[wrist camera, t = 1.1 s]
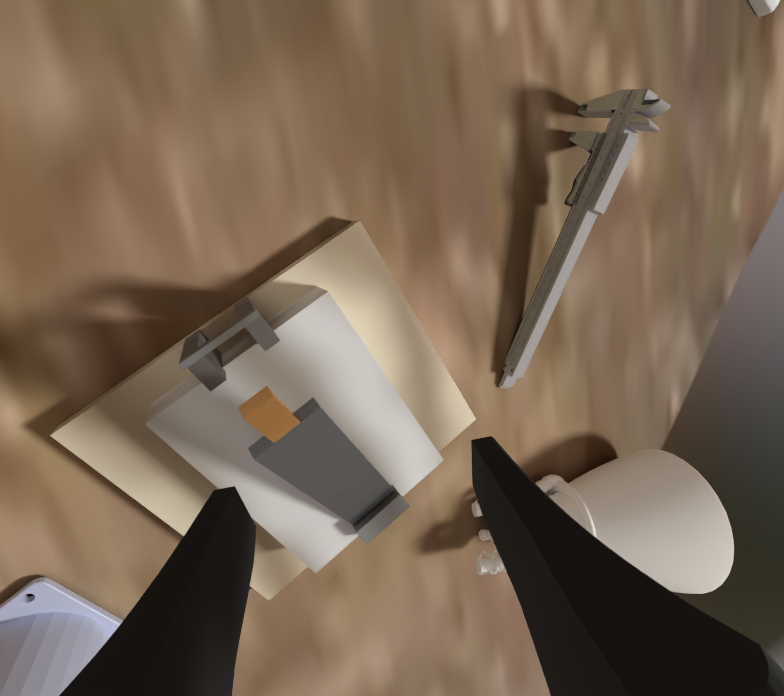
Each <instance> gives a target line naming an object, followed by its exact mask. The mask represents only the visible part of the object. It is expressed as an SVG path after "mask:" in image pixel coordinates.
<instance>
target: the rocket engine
mask: <svg viewBox="0 0 784 696" xmlns="http://www.w3.org/2000/svg"><path fill="white" fill-rule="evenodd" d="M535 484H536V485H538V486H539V487H540V488H541V489H542V490H543V491H544V492H545V493H546V494H547V495H548V496H549V497H550V498H551V499H552V500H553V501H554V502H555V503H556V504H557V505H558V506H560V507H561V508H562V509H563V510H564V511H565V512H566V513H567V514H568V515H570V516H571V517H572V518H573V519H574V520H575V521H577V522H578V523H579V524H580V525H581V526H582V527H584V528H585V529H586V530H587V531H588V532H590V533H591V534H592V535H593V536H595V537H596V538H597V539H598V540H600V541H601V542H602V543H603V544H605V545H606V546H607V547H609V548H610V549H611V550H613V551H614V552H615V553H617V554H618V555H619V556H621V557H622V558H623V559H625V560H626V561H627V562H629V563H630V564H632V565H633V566H635V567H636V568H638V569H639V570H640V571H642V572H643V573H645V574H646V575H648V576H649V577H651V578H652V579H654V580H655V581H657V582H658V583H659V584H661V585H662V586H664V587H665V588H667V589H668V590H670V591H673V592H681V593H692V594H696V593H697V594H698V593H699V594H703V593H707V592H710V591H713V590H715V589H716V588H718V587H719V586H720V585H722V584H723V582H724V581H725V579H726V578H727V576H728V575H729V573H730V570H731V567H732V563H733V556H734V542H733V536H732V529H731V526H730V523H729V520H728V517H727V514H726V511H725V510H724V508H723V506H722V504H721V502H720V500H719V498H718V496H717V495H716V493H715V492H714V490H713V489H712V487H711V486H710V485H709V483H708V482H707V481H706V480H705V479H704V478H703V477H702V476H701V474H700V473H699V472H698V471H697V470H696V469H694V468H693V467H691V465H689V464H688V463H687V462H685V461H684V460H682V459H681V458H679V457H677V456H675V455H673V454H671V453H668V452H665V451H662V450H656V449H645V450H639V451H636V452H633V453H630V454H627V455H624V456H622V457H619V458H617V459H614V460H612V461H610V462H607V463H605V464H603V465H601V466H599V467H597V468H595V469H593V470H591V471H589V472H587V473H585V474H583V475H581V476H580V477H578V478H576V479H574V480H573V481H571V482H569V483H567V482H565V481H564V480H563V478H561V477H560V476H558V475H548V476H544V477H543V478H542V480H540V481H537V482H536V483H535ZM472 513H473V515H474V517H476V516H478V517H479V516H483V515H482V512H481V509H480V506H479V503H477V500H476V501H475V503H472ZM479 538H480V539H481V540H482V541H485V540H489V539H490V540H491V541H493V539H492V537H491V534H490V532H489V531H488V530H484V529H482V530H480V531H479ZM493 543H494V541H493ZM495 551H496V553H497V552H498V551H497V550H496V549H494V551H493V552H494V554H495ZM482 552H483V553H484V554H485V553H486V552H484V551H482ZM482 552H481V553H480V554H481V555H482ZM480 554H479V555H480ZM486 554H487V553H486ZM486 554H485V555H486ZM492 554H493V553H492ZM492 554H487V555H488V556H487V555H486V556H487V557H488V558H483V559H480V557H481V555H480V557H479V558H478V556H479V555H478V556H477V557H476V558H475V567H476V570H477V572H478V574H482V575H483V574H485V573H482V572H487V573H492V574H493V575H495V574H496V573H497V572H500V571H497V570H501V571H505V572H507V571H506V569H505V566H504V564H503V562H502V560H501V557H500V555H499V554H498V553H497V554H498V556H499V557H494V555H492Z"/></svg>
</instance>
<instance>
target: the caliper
mask: <svg viewBox="0 0 784 696" xmlns="http://www.w3.org/2000/svg"><path fill="white" fill-rule="evenodd" d="M657 97H658V96H657V95H656V94H654V93H653V92H651V91H650V90H649V89H631V90H619V91H616V92H613V93H610V94H607V95H604V96H601V97H599V98H596V99H593V100H590V101H588V102H585V103H583V104H582V105H581V106H580V108H579V109H578V111H577V112H578V113H579V114H581V115H583V116H584V117H586V118H595V117H596V118H611V120H610V122H609V124H608V126H607V129H606V131H605V132H604V133H599V132H589V131H578V132H577V133H576V132H571V134H570V137H569V141H571V142H573V143H574V144H576V145H578V146H579V147H581V148H583V149H584V150H586V151H588V152H589V153H591V154H590V157H589V159H588V162H587V164H586V165H584V166H583V168H582V169H581V171H580V172H579V174H578V175H577V177H576V178H575V180H574V182H573V187H572V190H571V192H570V193H569V195H568V196H567V198H566V200H565V205H567V206H570V207H571V210H570V212H569V214H568V217H567V219H566V221H565V223H564V226H563V228H562V230H561V233H560V235H559V237H558V239H557V242H556V244H555V246H554V249H553V251H552V253H551V255H550V258H549V260H548V262H547V265H546V267H545V269H544V271H543V274H542V276H541V278H540V281H539V283H538V285H537V287H536V290H535V292H534V294H533V296H532V299H531V301H530V303H529V305H528V308H527V310H526V312H525V314H524V317H523V319H522V321H521V323H520V326H519V328H518V330H517V332H516V335H515V337H514V339H513V341H512V344H511V346H510V348H509V351H508V354H507V358H506V361H505V365H504V368H503V371H504V374H503V376H502V378H501V380H500V383H499V388H507V389H510V387H512V386H513V384H514V382H515V380H516V378H517V377H518V378H522V377H523V375H524V373H525V370H526V368H527V366H528V364H529V362H530V360H531V358H532V355H533V353H534V351H535V349H536V347H537V345H538V343H539V341H540V338H541V336H542V334H543V332H544V330H545V328H546V326H547V323H548V321H549V319H550V317H551V315H552V313H553V310H554V308H555V306H556V304H557V302H558V300H559V297H560V295H561V293H562V291H563V289H564V287H565V284H566V282H567V280H568V278H569V276H570V274H571V271H572V269H573V267H574V265H575V263H576V261H577V258H578V256H579V254H580V252H581V250H582V248H583V245H584V243H585V241H586V239H587V237H588V235H589V232H590V230H591V228H592V226H593V224H594V222H595V219H596V217H597V215H602V214H604V212H605V210H606V208H607V206H608V204H609V202H610V200H611V198H612V196H613V194H614V192H615V189H616V187H617V185H618V183H619V181H620V179H621V177H622V175H623V173H624V171H625V169H626V167H627V165H628V162H629V160H630V158H631V156H632V154H633V152H634V150H635V148H636V146H637V143H638V140H639V139H637V138H635V137H634V136H635V133H639V132H640V131H642V130H643V131H650V132H658V131H659V127H658V126H657V125H656V124H654V123H653V122H652V121H650V120H649V119H647V118H651V117H654V116H657V115H659V114H661V113H663V112H665V111H667V110H668V109H669V108H670V107H671V106H670V105H669V104H667V103H666V102H665V101H663V100H662V99H657Z"/></svg>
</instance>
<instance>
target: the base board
mask: <svg viewBox="0 0 784 696" xmlns="http://www.w3.org/2000/svg"><path fill="white" fill-rule="evenodd" d="M266 386H268V387H269V388H270V389H271V390H272V391H273V392H274V393H275V394H276V395H277V396H278V397H279V398H280V399H281V400H282V401H283V402H284V403H285V404H287V405H288V406H289V407H290V408H291V409H292V410H293V411H294V412H295V411H296V410H297V409H299V408H300V407H301V406H302V405H304V404H305V403H306V402H307V401H309V400H310V399H311V398H313V397H314V399H315V400H316V401H317V402H318V403H319V404H320V405H321V407H322V408H323V409H324V410H325V411H326V412H327V413H328V414H329V416H330V417H331V418H332V419H333V420H334V421H335V422H336V423H337V425H338V426H339V427H340V428H341V429H342V430H343V431H344V433H345V434H346V435H347V436H348V437H349V438H350V439H351V440H352V442H353V443H354V444H355V445H356V446H357V447H358V448H359V450H360V451H361V452H362V453H363V454H364V455H365V456H366V457H367V459H368V460H369V461H370V462H371V463H372V464H373V465H374V466H375V468H376V469H377V470H378V471H379V472H380V473H381V474H382V476H383V477H384V478H385V479H386V480H387V481H388V482H389V484H390V485H391V486H392V487H393V489H394V491H393V492H392V493H391V494H390V495H388V496H387V497H386V498H385V499H384V500H383V501H382V502H380V503H379V504H378V505H377V506H376V507H375V508H374V509H372V510H371V511H370V512H369V513H368V514H367V515H366V516H364V517H363V518H362V519H361V520H360V521H359V522H358V523H356V524H355V525H352V524H351V523H349V522H348V521H346V520H345V519H343V518H341V517H340V516H338V515H337V514H335V513H334V512H332V511H331V510H329V509H328V508H326V507H325V506H323V505H322V504H320V503H319V502H317V501H316V500H314V499H313V498H311V497H310V496H308V495H307V494H305V493H304V492H302V491H301V490H299V489H298V488H296V487H295V486H293V485H292V484H290V483H289V482H287V481H286V480H284V479H283V478H281V477H280V476H278V475H276V474H275V473H273V472H272V471H270V470H269V469H267V468H266V467H264V466H263V465H261V464H260V463H258V462H257V461H255V460H254V459H253V457H252V455H251V453H250V451H249V449H248V447H250V446H251V445H252V444H254V443H255V442H256V441H257V440H259V439H260V438H261V437H263V436H264V435H263V434H262V433H260V432H259V431H258V430H257V429H255V428H254V427H253V426H251V425H250V424H249V423H248V422H246V421H245V420H244V419H243V417H242V415H241V413H240V412H239V410H238V407H239V406H240V405H242V404H243V403H244V402H246V401H247V400H248V399H250V398H251V397H252V396H254V395H255V394H256V393H258V392H259V391H260V390H262V389H263V388H264V387H266ZM475 420H476V418H475V417H474V415H473V413H472V411H471V410H470V408H469V406H468V405H467V403H466V401H465V400H464V398H463V396H462V394H461V393H460V391H459V389H458V388H457V386H456V384H455V382H454V381H453V379H452V377H451V376H450V374H449V372H448V370H447V369H446V367H445V365H444V364H443V362H442V360H441V358H440V357H439V355H438V353H437V352H436V350H435V348H434V346H433V345H432V343H431V341H430V340H429V338H428V336H427V335H426V333H425V331H424V329H423V328H422V326H421V324H420V323H419V321H418V319H417V317H416V316H415V314H414V312H413V311H412V309H411V307H410V305H409V304H408V302H407V300H406V299H405V297H404V295H403V293H402V292H401V290H400V288H399V287H398V285H397V283H396V281H395V280H394V278H393V276H392V275H391V273H390V271H389V270H388V268H387V266H386V264H385V263H384V261H383V259H382V258H381V256H380V254H379V252H378V251H377V249H376V247H375V246H374V244H373V242H372V240H371V239H370V237H369V235H368V234H367V232H366V230H365V228H364V227H363V225H362V223H361V222H360V220H359V221H352V222H351V223H350V224H348V225H347V226H345V227H344V228H342V229H341V230H339V231H338V232H337V233H335V234H334V235H332V236H331V237H329V238H328V239H326V240H325V241H324V242H322V243H321V244H319V245H318V246H316V247H315V248H313V249H312V250H311V251H309V252H308V253H306V254H305V255H303V256H302V257H300V258H299V259H298V260H296V261H295V262H293V263H292V264H290V265H289V266H287V267H286V268H285V269H283V270H282V271H280V272H279V273H277V274H276V275H274V276H273V277H272V278H270V279H269V280H267V281H266V282H264V283H263V284H261V285H260V286H259V287H257V288H256V289H254V290H253V291H251V292H250V293H248V294H247V295H246V296H244V297H243V298H241V299H240V300H238V301H237V302H235V303H234V304H233V305H231V306H230V307H228V308H227V309H225V310H224V311H222V312H221V313H220V314H218V315H217V316H215V317H214V318H212V319H211V320H209V321H208V322H207V323H205V324H204V325H202V326H201V327H199V328H198V329H196V330H195V331H194V332H192V333H191V334H189V335H188V336H186V337H185V338H183V339H182V340H181V341H179V342H178V343H176V344H175V345H173V346H172V347H170V348H169V349H168V350H166V351H165V352H163V353H162V354H160V355H159V356H157V357H156V358H155V359H153V360H152V361H150V362H149V363H147V364H146V365H144V366H143V367H142V368H140V369H139V370H137V371H136V372H134V373H133V374H131V375H130V376H129V377H127V378H126V379H124V380H123V381H121V382H120V383H118V384H117V385H116V386H114V387H113V388H111V389H110V390H108V391H107V392H105V393H104V394H103V395H101V396H100V397H98V398H97V399H95V400H94V401H92V402H91V403H90V404H88V405H87V406H85V407H84V408H82V409H81V410H79V411H78V412H77V413H75V414H74V415H72V416H71V417H69V418H68V419H66V420H65V421H64V422H62V423H61V424H59V425H58V426H57V428H56V429H55V430H54V431H53V433H52V434H51V435H50V436H51V437H52V438H54V439H55V440H56V441H58V442H59V443H60V444H62V445H63V446H64V447H66V448H67V449H68V450H70V451H71V452H72V453H74V454H75V455H76V456H78V457H79V458H80V459H82V460H83V461H84V462H86V463H87V464H88V465H90V466H91V467H92V468H94V469H95V470H96V471H98V472H99V473H100V474H102V475H103V476H104V477H106V478H107V479H108V480H110V481H111V482H112V483H114V484H115V485H116V486H118V487H119V488H120V489H122V490H123V491H124V492H126V493H127V494H128V495H130V496H131V497H132V498H134V499H135V500H136V501H138V502H139V503H140V504H142V505H143V506H144V507H146V508H147V509H148V510H150V511H151V512H152V513H154V514H155V515H156V516H157V517H159V518H160V519H161V520H163V521H164V522H165V523H167V524H168V525H169V526H171V527H172V528H173V529H175V530H176V531H177V532H179V533H180V534H181V535H183V536H184V535H185V534H186V532H187V531H188V529H189V528H190V526H191V525H192V523H193V521H194V520H195V518H196V517H197V515H198V514H199V512H200V511H201V509H202V507H203V506H204V504H205V503H206V501H207V500H208V498H209V497H210V495H211V494H212V492H213V491H214V490H217V489H222V488H227V487H232V486H235V488H236V489H237V491H238V493H239V495H240V497H241V499H242V501H243V503H244V505H245V506H246V508H247V510H248V512H249V514H250V516H251V518H252V520H253V522H254V523H255V525H256V542H255V555H254V565H253V571H252V576H251V581H250V586H251V587H252V588H253V589H255V590H256V591H257V592H259V593H260V594H261V595H263V596H264V597H265V598H267V599H268V600H270V599H271V598H272V597H274V596H275V595H276V594H277V593H278V592H279V591H280V590H282V589H283V588H284V587H285V586H286V585H287V584H288V583H290V582H291V581H292V580H293V579H294V578H295V577H296V576H298V575H299V574H300V573H301V572H302V571H303V570H304V569H306V568H307V567H309V568H310V569H311V570H312V571H313V572H314V573H317V572H318V571H319V570H320V569H321V568H322V567H323V566H324V565H326V564H327V563H328V562H329V561H330V560H331V559H332V558H334V557H335V556H336V555H337V554H338V553H339V552H340V551H341V550H343V549H344V548H345V547H346V546H347V545H348V544H349V543H350V542H352V541H353V540H354V539H355V538H356V537H357V536H358V535H359V536H360V537H361V538H362V539H363V540H364V542H365V543H366V544H368V543H369V542H370V541H372V540H373V539H374V538H375V537H376V536H377V535H378V534H379V533H381V532H382V531H383V530H384V529H385V528H386V527H387V526H388V525H389V524H391V523H392V522H393V521H394V520H395V519H396V518H397V517H398V516H400V515H401V514H402V513H403V512H404V511H405V510H406V509H407V508H408V507H410V506H409V505H408V504H407V502H406V501H405V499H404V498H403V496H404V495H405V494H406V493H407V492H408V491H409V490H410V489H412V488H413V487H414V486H415V485H416V484H417V483H418V482H419V481H421V480H422V479H423V478H424V477H425V476H426V475H427V474H429V473H430V472H431V471H432V470H433V469H434V468H435V467H436V466H438V465H439V464H440V463H441V462H442V461H443V458H442V457H441V455H440V454H439V451H440V450H441V449H443V448H444V447H445V446H446V445H447V444H448V443H449V442H451V441H452V440H453V439H454V438H455V437H456V436H457V435H459V434H460V433H461V432H462V431H463V430H464V429H465V428H467V427H468V426H469V425H470V424H471V423H472V422H473V421H475Z"/></svg>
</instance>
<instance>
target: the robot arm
mask: <svg viewBox="0 0 784 696" xmlns="http://www.w3.org/2000/svg"><path fill="white" fill-rule="evenodd" d="M471 441H472V481H473V487H474V490H475V493H476V497H477V500H478V503H479V506H480V509H481V512H482V515H483V518H484V520H485V523H486V525H487V527H488V530H489V532H490V534H491V537H492V539H493V541H494V544H495V546H496V548H497V550H498V553H499V555H500V557H501V560H502V562H503V564H504V566H505V569H506V571H507V573H508V576H509V578H510V580H511V583H512V585H513V587H514V589H515V592H516V594H517V597H518V599H519V602H520V605H521V607H522V610H523V613H524V616H525V619H526V622H527V625H528V628H529V631H530V634H531V636H532V639H533V642H534V645H535V648H536V651H537V654H538V658H539V661H540V664H541V667H542V670H543V673H544V676H545V679H546V682H547V685H548V688H549V691H550V694H551V696H784V671H783V670H782V669H781V668H780V666H779V665H778V664H777V663H776V662H775V661H774V660H773V659H772V658H771V657H770V655H769V654H768V653H767V652H766V651H765V650H764V649H763V648H762V647H761V646H760V644H758V643H756V642H754V641H752V640H751V639H749V638H747V637H745V636H744V635H742V634H740V633H738V632H737V631H735V630H733V629H732V628H730V627H728V626H726V625H725V624H723V623H721V622H720V621H718V620H716V619H715V618H713V617H711V616H710V615H708V614H706V613H705V612H703V611H701V610H700V609H698V608H697V607H695V606H693V605H692V604H690V603H688V602H687V601H685V600H684V599H682V598H681V597H679V596H678V595H676V594H674V593H673V592H671V591H670V590H668V589H667V588H665V587H664V586H662V585H661V584H659V583H658V582H657V581H655V580H654V579H652V578H651V577H649V576H648V575H646V574H645V573H643V572H642V571H640V570H639V569H638V568H636V567H635V566H633V565H632V564H630V563H629V562H627V561H626V560H625V559H623V558H622V557H621V556H619V555H618V554H617V553H615V552H614V551H613V550H611V549H610V548H609V547H607V546H606V545H605V544H603V543H602V542H601V541H600V540H598V539H597V538H596V537H595V536H593V535H592V534H591V533H590V532H588V531H587V530H586V529H585V528H584V527H582V526H581V525H580V524H579V523H578V522H577V521H575V520H574V519H573V518H572V517H571V516H570V515H568V514H567V513H566V512H565V511H564V510H563V509H562V508H561V507H560V506H558V505H557V504H556V503H555V502H554V501H553V500H552V499H551V498H550V497H549V496H548V495H547V494H546V493H545V492H544V491H543V490H542V489H541V488H540V487H539V486H538V485H536V484H535V483H534V482H533V481H532V480H531V479H530V478H529V477H528V475H527V474H526V473H525V472H524V471H523V470H522V469H521V468H520V467H519V466H518V465H517V464H516V463H515V462H514V461H513V460H512V458H511V457H510V456H509V455H508V454H507V453H506V452H505V451H504V449H503V448H502V447H501V446H500V445H499V443H498V442H497V441H496V440H495V439H494V438H493V437H491V436H490V437H485V438H480V439H475V440H471ZM255 542H256V525H255V523H254V522H253V520H252V518H251V516H250V514H249V512H248V510H247V508H246V506H245V505H244V503H243V501H242V499H241V497H240V495H239V493H238V491H237V489H236V488H235V486H232V487H227V488H222V489H217V490H214V491H213V492H212V494H211V495H210V497H209V498H208V500H207V501H206V503H205V504H204V506H203V507H202V509H201V511H200V512H199V514H198V515H197V517H196V518H195V520H194V521H193V523H192V525H191V526H190V528H189V529H188V531H187V532H186V534H185V535H184V537H183V538H182V540H181V541H180V543H179V544H178V546H177V547H176V549H175V550H174V552H173V553H172V555H171V556H170V558H169V559H168V561H167V562H166V564H165V565H164V566H163V568H162V569H161V571H160V572H159V574H158V575H157V576H156V578H155V579H154V580H153V582H152V583H151V585H150V586H149V587H148V589H147V590H146V591H145V593H144V594H143V596H142V597H141V598H140V600H139V601H138V602H137V604H136V605H135V606H134V608H133V609H132V610H131V612H130V613H129V614H128V615H127V617H126V618H125V619H124V621H123V620H121V619H119V618H118V617H116V616H114V615H112V614H111V613H109V612H107V611H105V610H104V609H102V608H100V607H98V606H97V605H95V604H93V603H91V602H90V601H88V600H86V599H84V598H82V597H81V596H79V595H77V594H75V593H74V592H72V591H70V590H68V589H67V588H65V587H63V586H61V585H60V584H58V583H56V582H54V581H53V580H51V579H49V578H46V577H40V578H36V579H34V580H33V581H31V582H30V583H28V584H27V585H26V586H24V587H23V588H22V589H21V590H19V591H18V592H17V593H15V594H14V595H13V596H11V597H10V598H9V599H7V600H6V601H5V602H3V603H2V604H1V605H0V696H232V688H233V678H234V669H235V662H236V656H237V649H238V644H239V639H240V634H241V628H242V623H243V618H244V613H245V608H246V603H247V597H248V592H249V587H250V581H251V576H252V571H253V565H254V555H255ZM26 594H34V596H26Z"/></svg>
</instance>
